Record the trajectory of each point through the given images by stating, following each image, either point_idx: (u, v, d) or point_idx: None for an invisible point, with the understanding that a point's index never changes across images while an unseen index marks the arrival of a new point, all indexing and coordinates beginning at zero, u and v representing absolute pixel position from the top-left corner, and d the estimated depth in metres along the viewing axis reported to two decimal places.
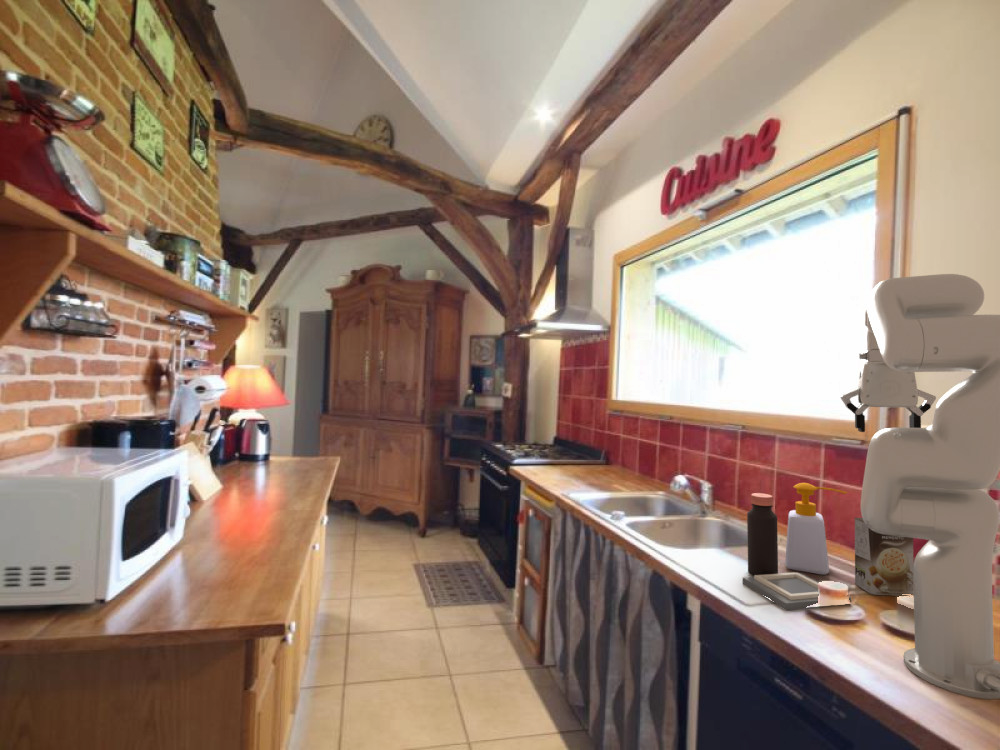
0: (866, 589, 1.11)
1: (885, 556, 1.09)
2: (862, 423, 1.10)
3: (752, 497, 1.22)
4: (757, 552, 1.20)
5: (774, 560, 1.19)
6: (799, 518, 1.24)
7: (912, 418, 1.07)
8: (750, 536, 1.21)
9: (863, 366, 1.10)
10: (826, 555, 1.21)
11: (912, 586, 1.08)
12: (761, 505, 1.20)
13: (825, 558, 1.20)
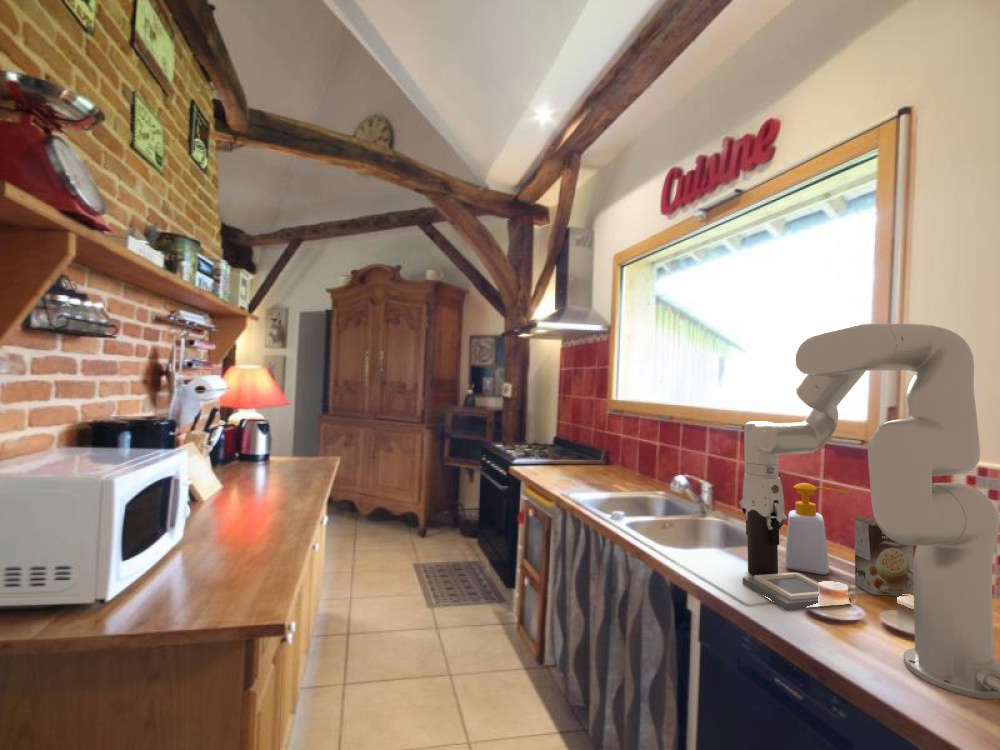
0: (866, 589, 1.11)
1: (885, 556, 1.09)
2: None
3: None
4: (757, 552, 1.20)
5: (774, 560, 1.19)
6: (799, 518, 1.24)
7: None
8: (750, 536, 1.21)
9: (778, 480, 1.18)
10: (826, 555, 1.21)
11: (912, 586, 1.08)
12: None
13: (825, 558, 1.20)
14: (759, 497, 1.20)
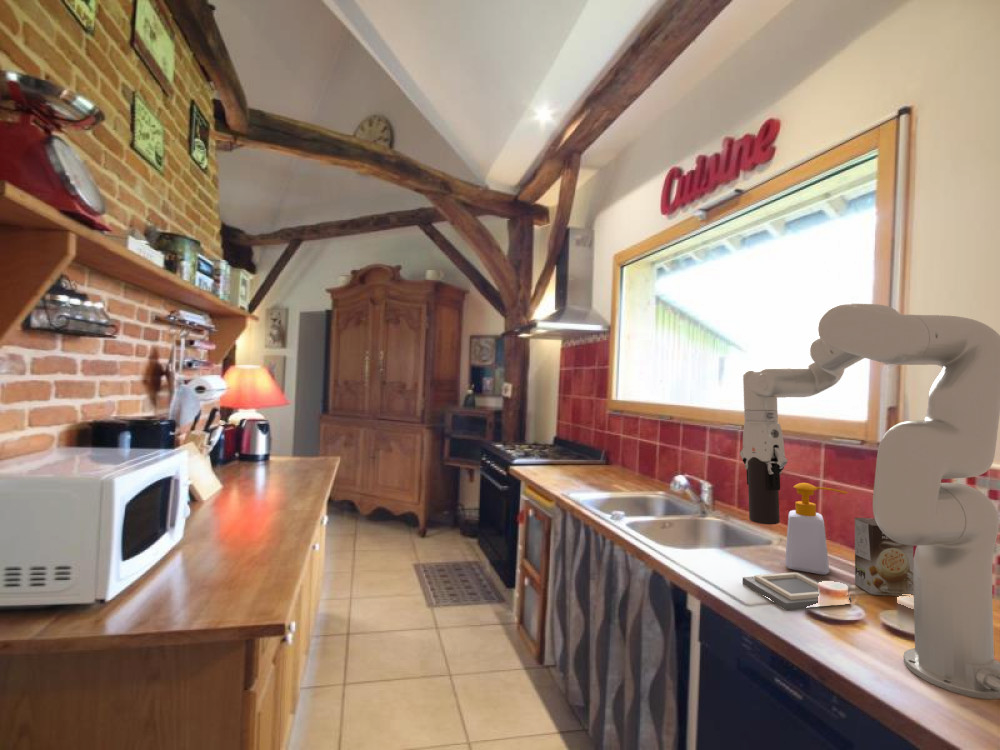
0: (866, 589, 1.11)
1: (885, 556, 1.09)
2: None
3: None
4: (758, 498, 1.19)
5: (776, 505, 1.18)
6: (799, 518, 1.24)
7: None
8: (751, 483, 1.21)
9: (778, 425, 1.18)
10: (826, 555, 1.21)
11: (912, 586, 1.08)
12: None
13: (825, 558, 1.20)
14: (759, 443, 1.20)
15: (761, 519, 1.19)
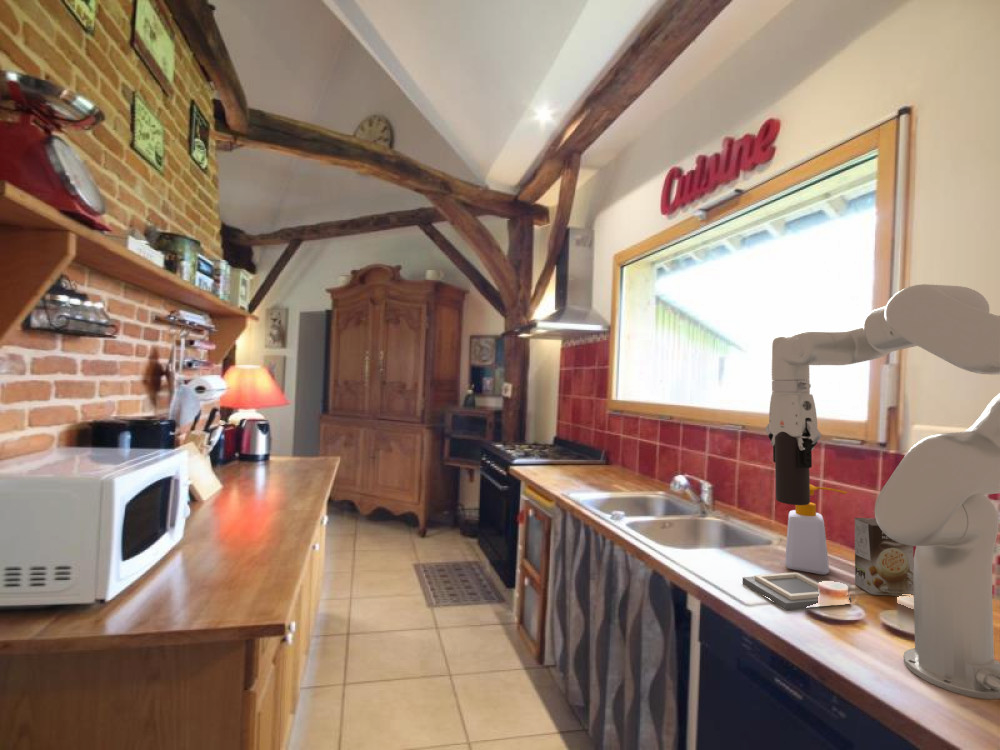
0: (866, 589, 1.11)
1: (885, 556, 1.09)
2: None
3: None
4: (786, 476, 1.09)
5: (806, 484, 1.08)
6: (799, 518, 1.24)
7: None
8: (779, 460, 1.10)
9: (810, 396, 1.07)
10: (826, 555, 1.21)
11: (912, 586, 1.08)
12: None
13: (825, 558, 1.20)
14: (789, 416, 1.09)
15: (790, 499, 1.08)
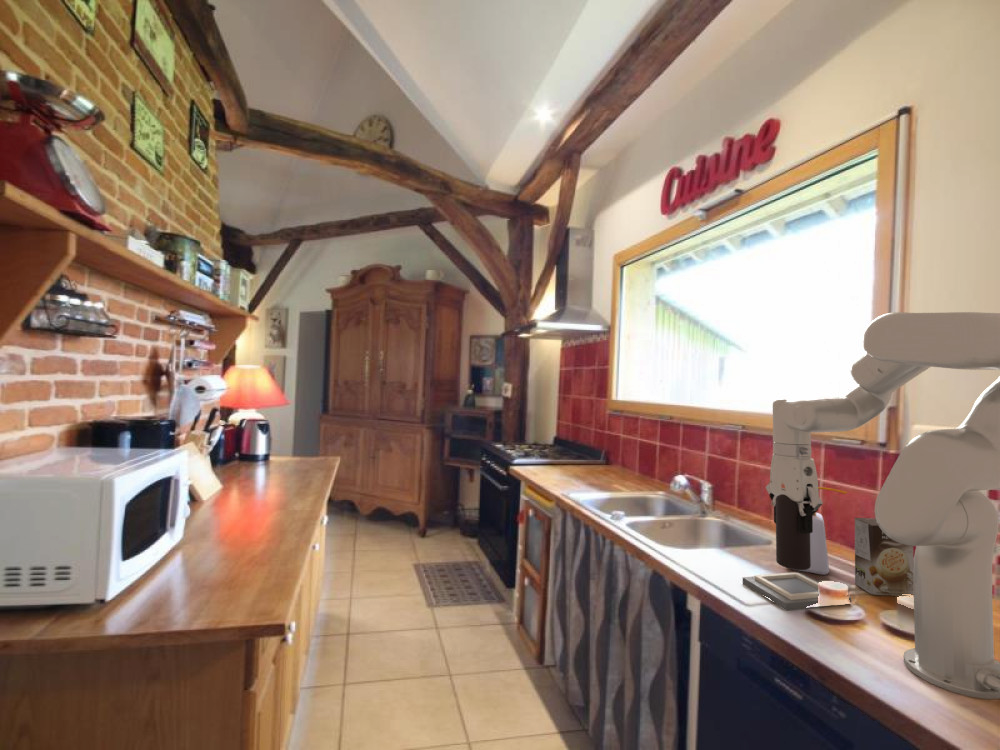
0: (866, 589, 1.11)
1: (885, 556, 1.09)
2: None
3: None
4: (787, 541, 1.08)
5: (807, 549, 1.08)
6: None
7: None
8: (779, 523, 1.10)
9: (812, 461, 1.07)
10: (826, 555, 1.21)
11: (912, 586, 1.08)
12: None
13: (825, 558, 1.20)
14: (790, 480, 1.08)
15: (790, 564, 1.08)
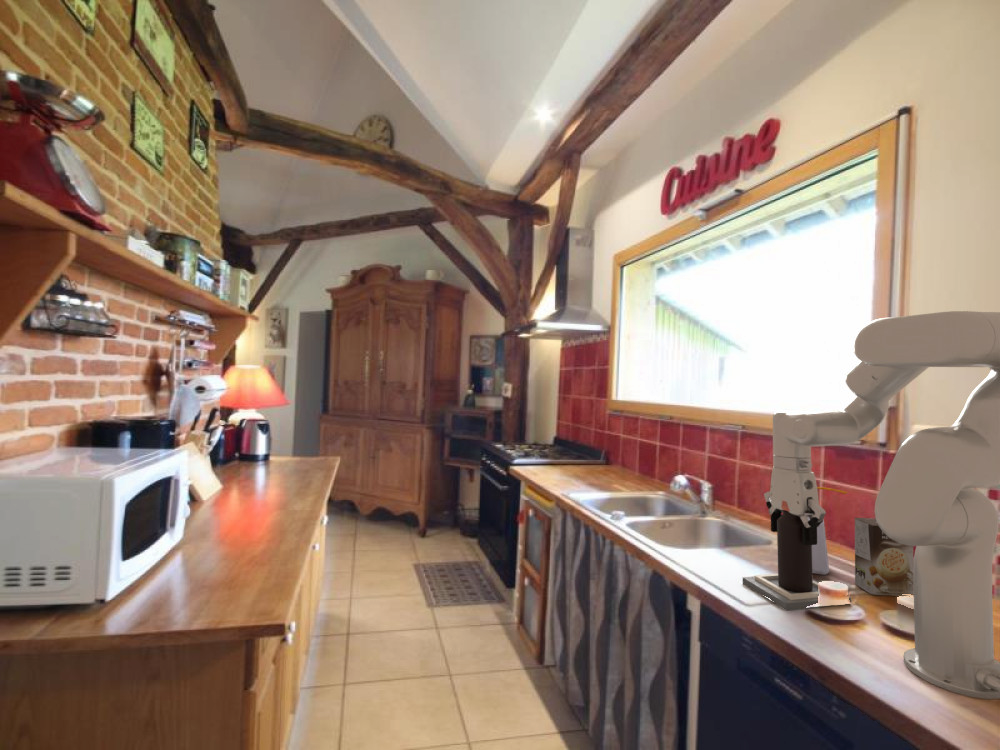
0: (866, 589, 1.11)
1: (885, 556, 1.09)
2: None
3: (782, 502, 1.10)
4: (788, 563, 1.08)
5: (809, 572, 1.07)
6: None
7: None
8: (781, 545, 1.10)
9: (812, 475, 1.07)
10: (826, 555, 1.21)
11: (912, 586, 1.08)
12: None
13: (825, 558, 1.20)
14: (790, 494, 1.08)
15: (792, 586, 1.07)
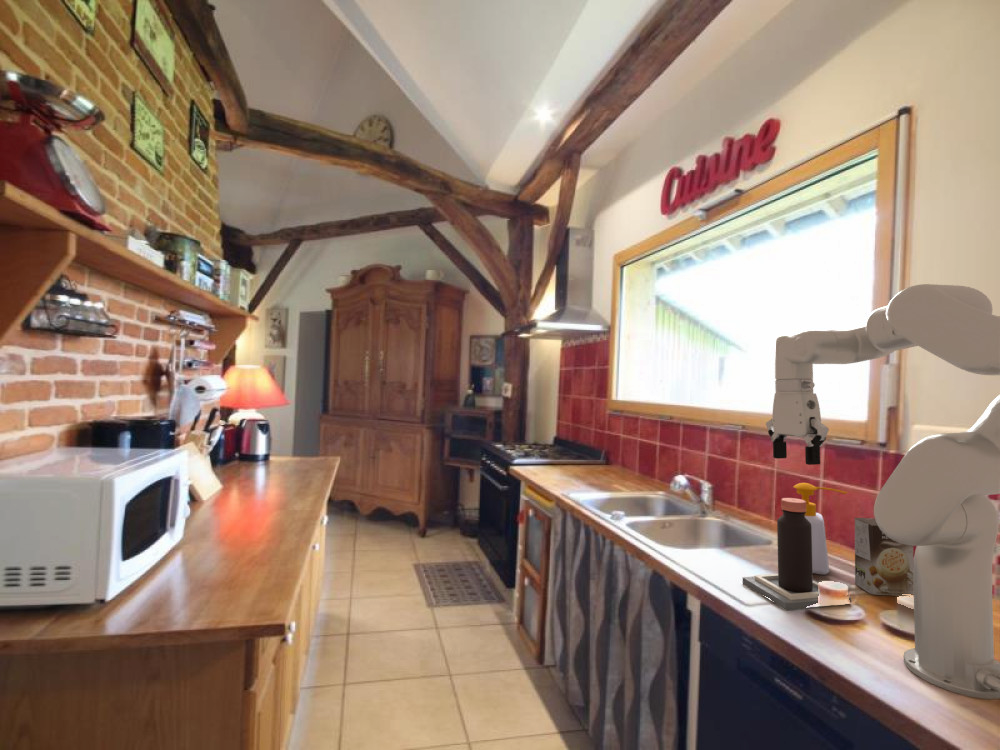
0: (866, 589, 1.11)
1: (885, 556, 1.09)
2: None
3: (783, 502, 1.10)
4: (788, 563, 1.08)
5: (809, 572, 1.07)
6: None
7: (783, 444, 1.15)
8: (781, 545, 1.10)
9: (814, 395, 1.07)
10: (826, 555, 1.21)
11: (912, 586, 1.08)
12: (793, 511, 1.08)
13: (825, 558, 1.20)
14: (793, 415, 1.08)
15: (792, 586, 1.07)
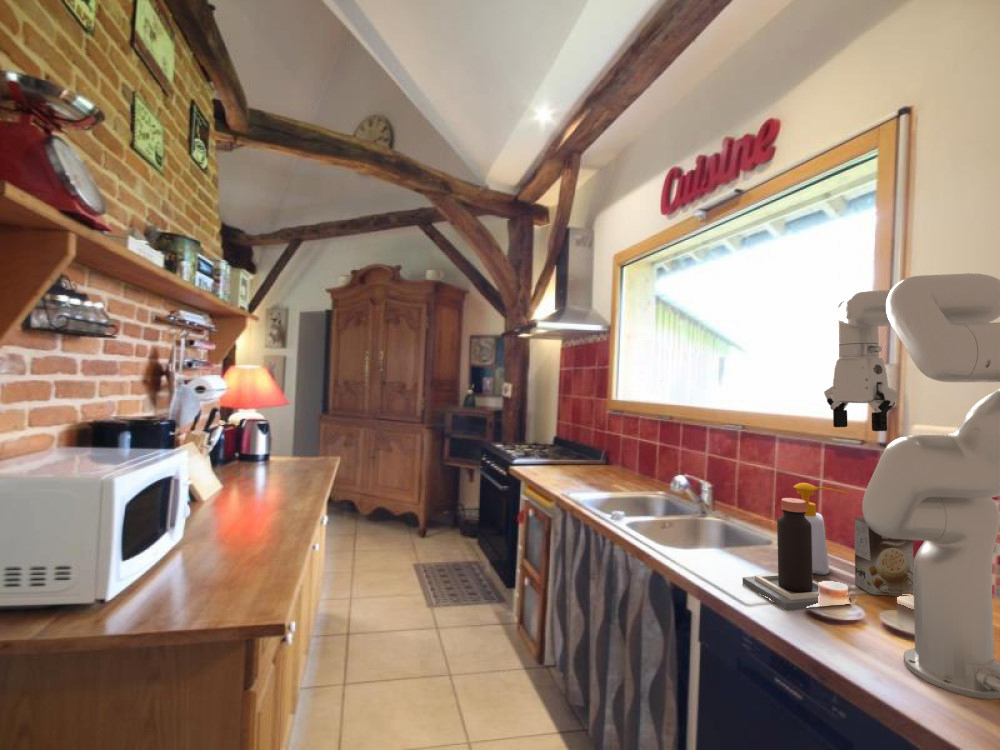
0: (866, 589, 1.11)
1: (885, 556, 1.09)
2: None
3: (783, 502, 1.10)
4: (788, 563, 1.08)
5: (809, 572, 1.07)
6: None
7: (843, 412, 1.12)
8: (781, 545, 1.10)
9: (881, 360, 1.03)
10: (826, 555, 1.21)
11: (912, 586, 1.08)
12: (793, 511, 1.08)
13: (825, 558, 1.20)
14: (858, 381, 1.05)
15: (792, 586, 1.07)
